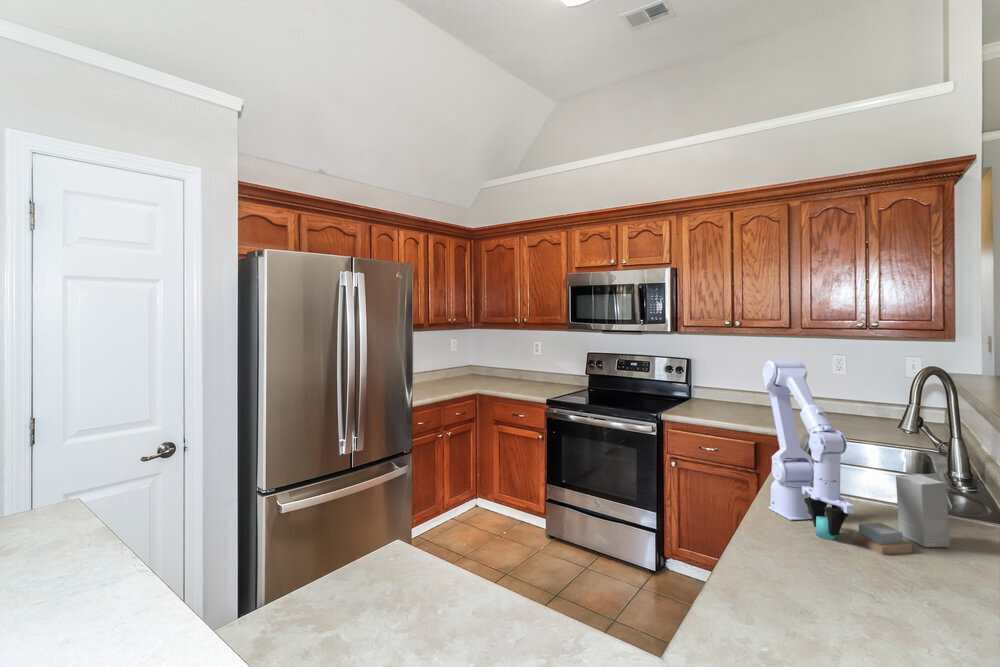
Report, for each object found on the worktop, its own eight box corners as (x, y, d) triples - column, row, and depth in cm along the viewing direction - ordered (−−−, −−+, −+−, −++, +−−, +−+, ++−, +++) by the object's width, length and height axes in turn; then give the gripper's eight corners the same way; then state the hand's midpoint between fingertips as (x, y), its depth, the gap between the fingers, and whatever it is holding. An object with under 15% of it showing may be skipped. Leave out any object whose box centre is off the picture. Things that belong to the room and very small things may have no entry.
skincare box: (950, 548, 120) (952, 483, 119) (920, 548, 120) (922, 483, 119) (921, 533, 128) (922, 473, 128) (893, 533, 128) (894, 472, 128)
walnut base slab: (853, 542, 125) (853, 532, 124) (880, 540, 126) (881, 530, 126) (882, 557, 117) (882, 546, 117) (911, 554, 118) (911, 544, 118)
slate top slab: (858, 533, 124) (858, 523, 124) (880, 532, 125) (880, 522, 124) (880, 544, 118) (880, 534, 118) (902, 542, 119) (902, 532, 119)
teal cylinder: (811, 533, 129) (812, 516, 128) (826, 532, 129) (827, 515, 129) (825, 540, 124) (825, 522, 124) (840, 539, 125) (841, 521, 125)
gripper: (791, 470, 133) (791, 520, 133) (836, 488, 119) (835, 544, 119) (815, 469, 134) (814, 518, 134) (862, 486, 120) (861, 542, 120)
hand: (826, 530), depth 127 cm, fingers closed on teal cylinder, 4 cm apart
